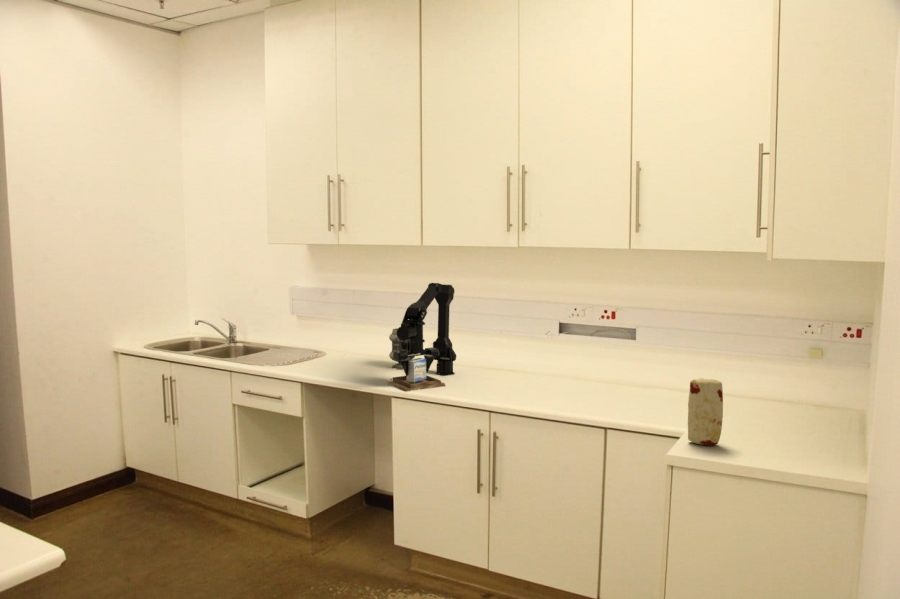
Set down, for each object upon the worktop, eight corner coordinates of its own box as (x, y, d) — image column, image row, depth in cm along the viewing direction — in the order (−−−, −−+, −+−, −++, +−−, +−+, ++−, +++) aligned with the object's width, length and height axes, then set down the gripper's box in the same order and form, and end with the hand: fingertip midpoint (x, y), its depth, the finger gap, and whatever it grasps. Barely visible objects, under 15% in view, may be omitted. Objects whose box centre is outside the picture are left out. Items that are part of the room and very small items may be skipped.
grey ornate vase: (403, 363, 336) (402, 326, 334) (420, 366, 327) (420, 328, 326) (384, 367, 327) (383, 329, 325) (401, 370, 319) (400, 331, 317)
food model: (685, 445, 208) (687, 378, 206) (688, 439, 214) (690, 374, 212) (720, 449, 204) (723, 381, 202) (723, 443, 210) (725, 377, 208)
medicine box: (414, 382, 286) (414, 361, 285) (406, 381, 288) (405, 360, 287) (426, 379, 292) (426, 358, 291) (418, 377, 294) (418, 357, 294)
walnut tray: (426, 378, 301) (426, 373, 301) (445, 385, 288) (445, 379, 287) (388, 383, 292) (388, 377, 292) (406, 391, 279) (405, 385, 278)
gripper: (426, 332, 300) (426, 368, 301) (386, 336, 290) (387, 373, 292) (439, 335, 290) (439, 373, 292) (399, 340, 281) (399, 378, 282)
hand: (416, 374), depth 290 cm, fingers closed on medicine box, 9 cm apart
